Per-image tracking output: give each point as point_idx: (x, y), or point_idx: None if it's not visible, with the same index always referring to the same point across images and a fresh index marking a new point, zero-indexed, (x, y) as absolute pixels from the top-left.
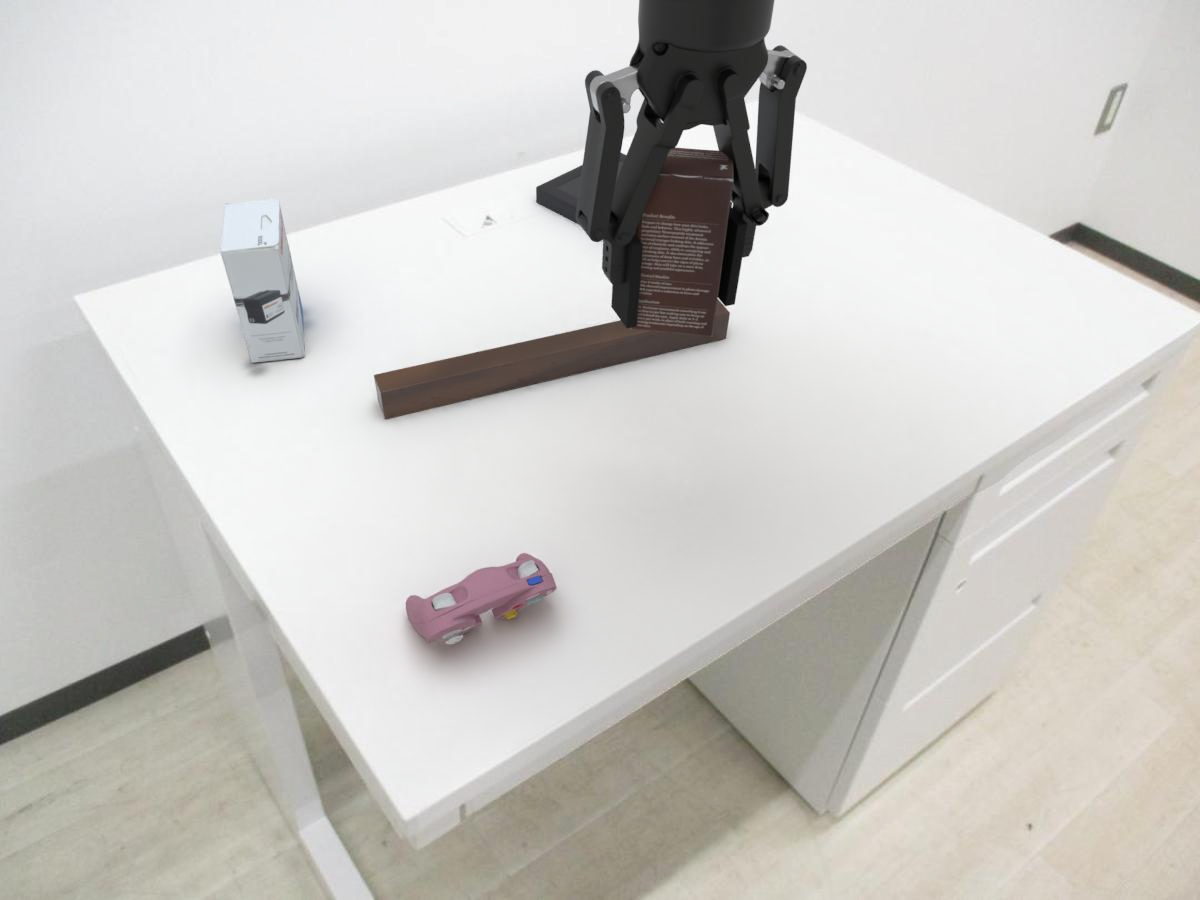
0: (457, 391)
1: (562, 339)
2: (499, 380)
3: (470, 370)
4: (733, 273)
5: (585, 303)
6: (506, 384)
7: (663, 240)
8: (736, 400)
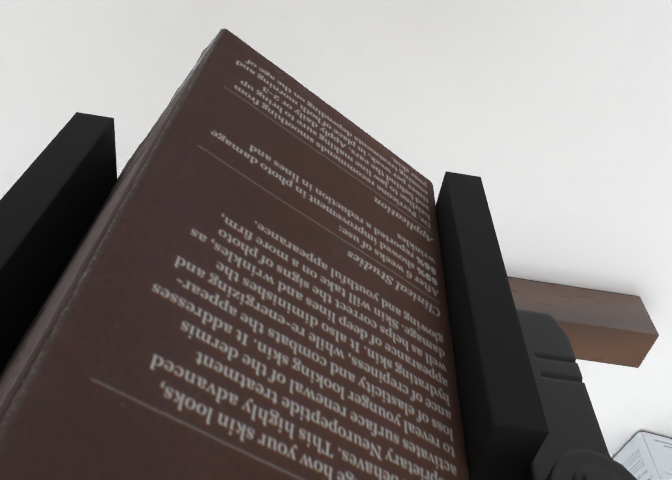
0: (529, 293)
1: None
2: None
3: None
4: (47, 184)
5: None
6: None
7: (374, 407)
8: (87, 62)
